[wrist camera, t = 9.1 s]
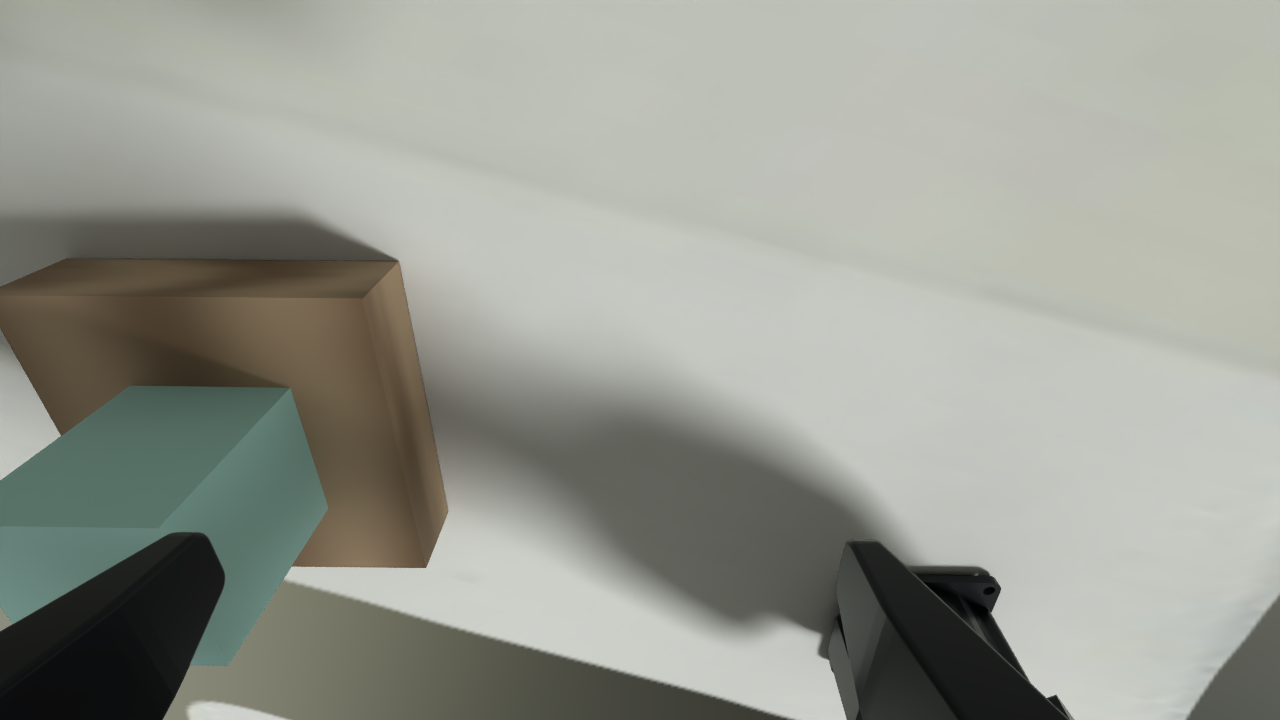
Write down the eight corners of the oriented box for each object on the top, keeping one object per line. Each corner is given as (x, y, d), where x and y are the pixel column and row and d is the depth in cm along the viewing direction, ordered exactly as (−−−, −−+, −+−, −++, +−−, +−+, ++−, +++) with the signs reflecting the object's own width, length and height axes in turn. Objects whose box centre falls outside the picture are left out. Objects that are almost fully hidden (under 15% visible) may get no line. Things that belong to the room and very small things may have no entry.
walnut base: (398, 261, 20) (362, 298, 18) (448, 511, 26) (426, 567, 23) (66, 258, 20) (-19, 295, 18) (185, 508, 26) (134, 564, 23)
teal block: (290, 387, 19) (158, 528, 14) (328, 508, 22) (228, 666, 17) (130, 385, 19) (-62, 525, 14) (186, 506, 22) (41, 663, 17)
